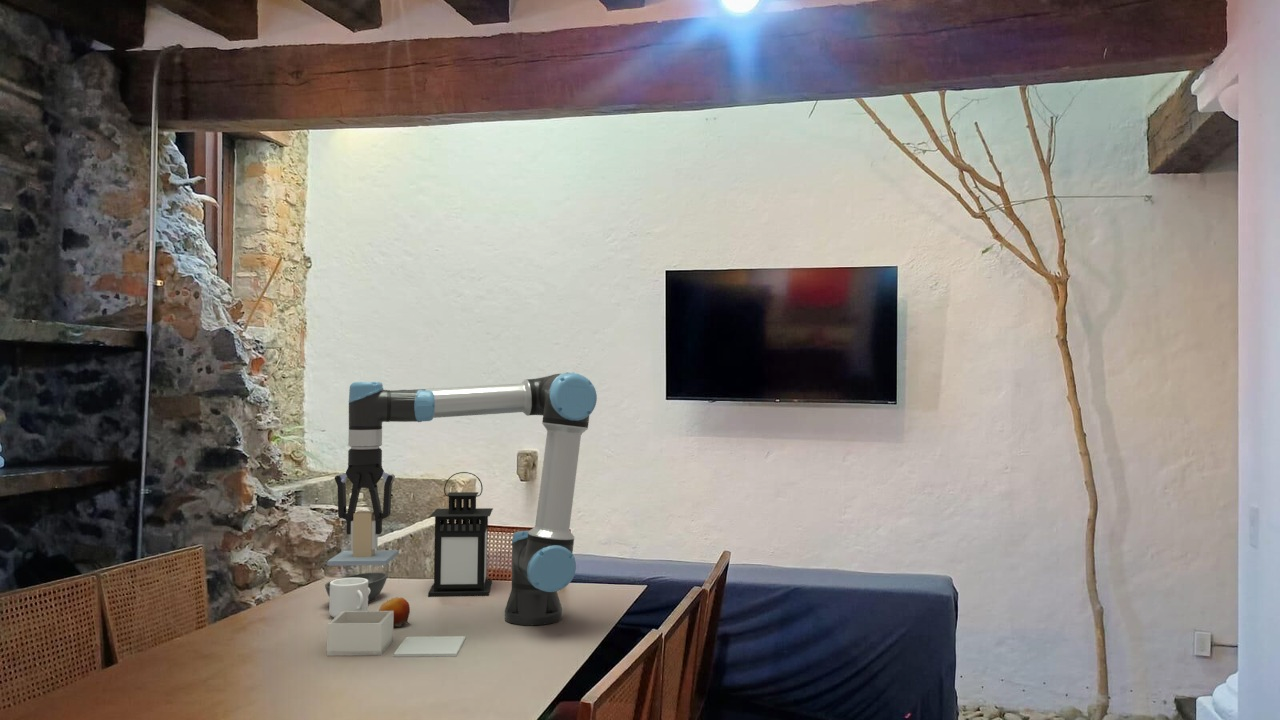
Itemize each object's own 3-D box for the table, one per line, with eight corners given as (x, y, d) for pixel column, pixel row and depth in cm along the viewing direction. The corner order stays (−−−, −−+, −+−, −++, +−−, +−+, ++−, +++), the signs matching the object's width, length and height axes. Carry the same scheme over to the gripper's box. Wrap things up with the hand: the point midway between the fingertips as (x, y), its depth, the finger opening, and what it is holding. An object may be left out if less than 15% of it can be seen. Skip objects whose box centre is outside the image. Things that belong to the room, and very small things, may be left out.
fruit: (407, 624, 219) (393, 596, 220) (382, 639, 220) (367, 611, 221) (422, 616, 226) (407, 589, 228) (397, 631, 228) (383, 603, 229)
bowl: (398, 595, 256) (398, 574, 256) (348, 613, 235) (349, 589, 236) (363, 592, 260) (364, 570, 260) (312, 609, 240) (312, 586, 240)
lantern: (428, 597, 255) (430, 475, 256) (435, 584, 272) (437, 470, 273) (488, 596, 256) (490, 475, 258) (491, 583, 274) (493, 470, 275)
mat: (465, 638, 212) (465, 636, 212) (456, 656, 198) (456, 653, 198) (406, 639, 211) (406, 636, 211) (393, 656, 197) (393, 653, 197)
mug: (381, 616, 232) (382, 582, 232) (345, 624, 224) (345, 588, 224) (358, 609, 240) (358, 575, 240) (322, 615, 232) (323, 581, 233)
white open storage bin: (393, 640, 210) (393, 610, 210) (380, 655, 198) (381, 623, 198) (342, 640, 209) (342, 610, 209) (326, 655, 197) (327, 624, 197)
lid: (398, 554, 211) (399, 508, 212) (385, 565, 198) (386, 516, 199) (343, 554, 211) (344, 508, 211) (327, 565, 198) (327, 516, 198)
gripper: (405, 446, 209) (404, 545, 209) (332, 446, 209) (331, 545, 208) (398, 448, 202) (397, 551, 201) (323, 448, 201) (321, 551, 200)
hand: (364, 548), depth 204 cm, fingers closed on lid, 4 cm apart
